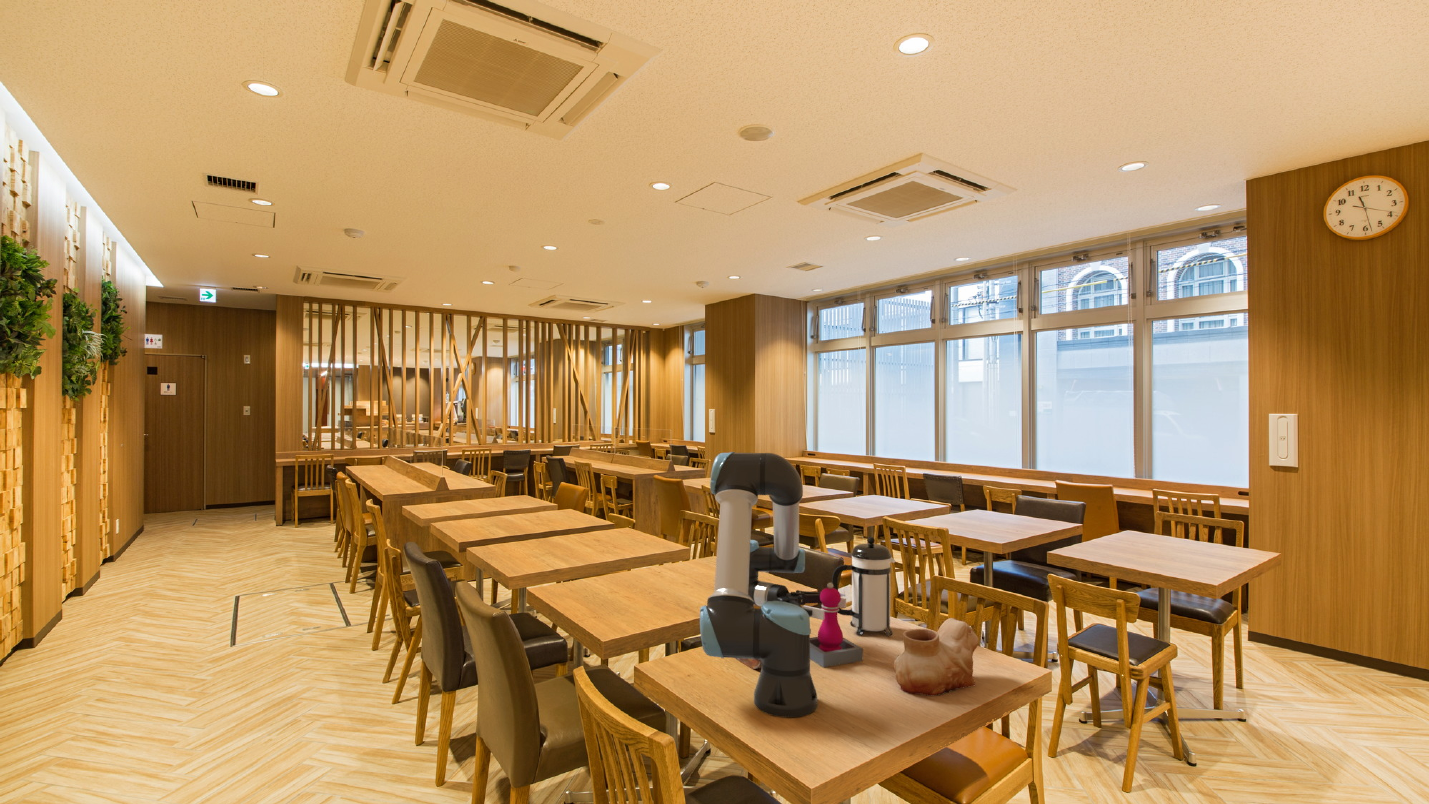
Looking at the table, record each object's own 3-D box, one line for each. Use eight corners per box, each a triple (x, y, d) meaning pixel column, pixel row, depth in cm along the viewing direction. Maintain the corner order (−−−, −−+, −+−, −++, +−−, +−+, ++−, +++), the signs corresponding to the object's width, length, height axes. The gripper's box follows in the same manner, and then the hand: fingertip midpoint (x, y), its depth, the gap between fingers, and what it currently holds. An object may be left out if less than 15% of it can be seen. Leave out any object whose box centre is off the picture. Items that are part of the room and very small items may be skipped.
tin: (730, 655, 188) (730, 626, 188) (739, 653, 190) (739, 624, 190) (759, 674, 175) (760, 642, 175) (769, 671, 177) (769, 640, 177)
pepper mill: (841, 648, 192) (841, 579, 192) (844, 657, 184) (844, 586, 185) (816, 647, 192) (816, 579, 193) (818, 656, 185) (818, 585, 185)
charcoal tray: (823, 667, 180) (823, 654, 180) (799, 651, 192) (799, 639, 192) (862, 660, 185) (862, 648, 185) (836, 645, 197) (836, 633, 197)
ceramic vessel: (994, 682, 171) (994, 624, 171) (921, 703, 158) (922, 641, 158) (951, 664, 183) (951, 610, 183) (881, 682, 170) (881, 624, 170)
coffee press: (863, 619, 222) (863, 530, 222) (904, 631, 210) (904, 537, 210) (830, 630, 211) (830, 536, 211) (871, 643, 198) (871, 544, 199)
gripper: (793, 599, 211) (853, 611, 198) (749, 618, 191) (813, 633, 178) (793, 575, 211) (854, 586, 198) (749, 592, 191) (813, 606, 178)
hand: (835, 609), depth 188 cm, fingers open, 13 cm apart
